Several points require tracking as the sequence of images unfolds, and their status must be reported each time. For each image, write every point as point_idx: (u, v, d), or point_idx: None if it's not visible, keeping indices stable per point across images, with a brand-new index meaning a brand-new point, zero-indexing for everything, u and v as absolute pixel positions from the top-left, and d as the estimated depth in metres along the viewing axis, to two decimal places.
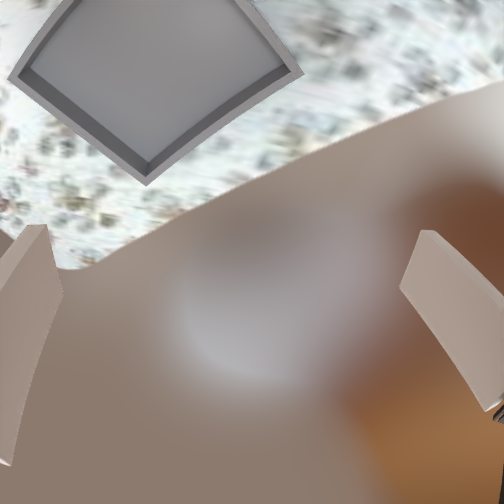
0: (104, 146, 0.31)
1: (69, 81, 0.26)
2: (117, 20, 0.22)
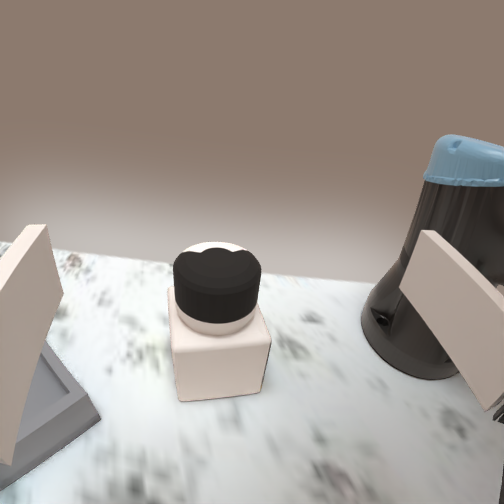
0: None
1: None
2: None
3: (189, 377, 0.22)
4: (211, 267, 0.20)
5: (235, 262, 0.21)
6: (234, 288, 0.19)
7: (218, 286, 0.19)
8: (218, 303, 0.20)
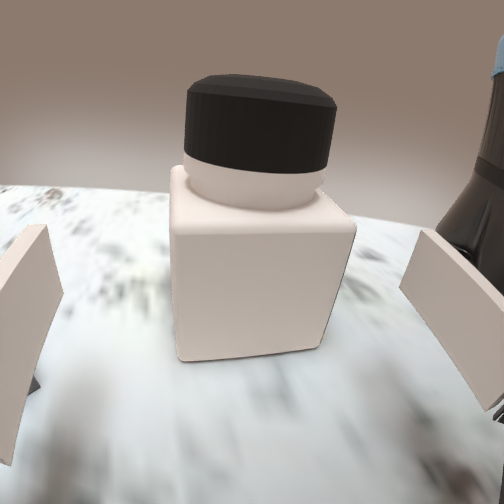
0: None
1: None
2: None
3: (201, 304, 0.12)
4: (257, 76, 0.10)
5: (295, 81, 0.11)
6: (302, 96, 0.09)
7: (275, 89, 0.09)
8: (273, 121, 0.10)
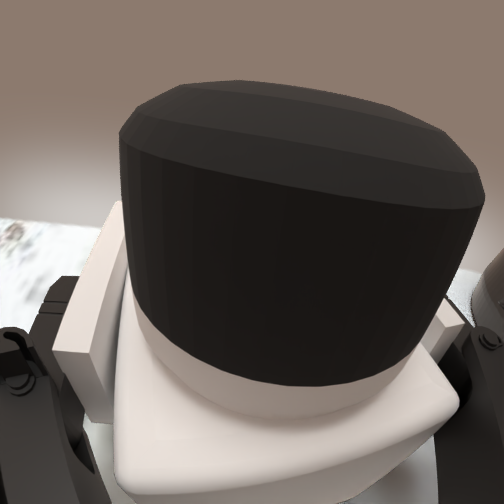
0: None
1: None
2: None
3: None
4: (311, 89, 0.04)
5: None
6: (460, 181, 0.03)
7: (394, 153, 0.03)
8: (380, 273, 0.03)
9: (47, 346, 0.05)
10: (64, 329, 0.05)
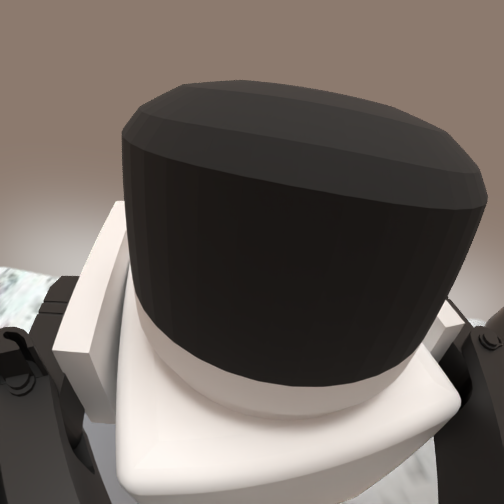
0: None
1: None
2: None
3: None
4: (314, 89, 0.04)
5: None
6: (463, 182, 0.03)
7: (398, 154, 0.03)
8: (385, 273, 0.03)
9: (47, 346, 0.05)
10: (64, 329, 0.05)
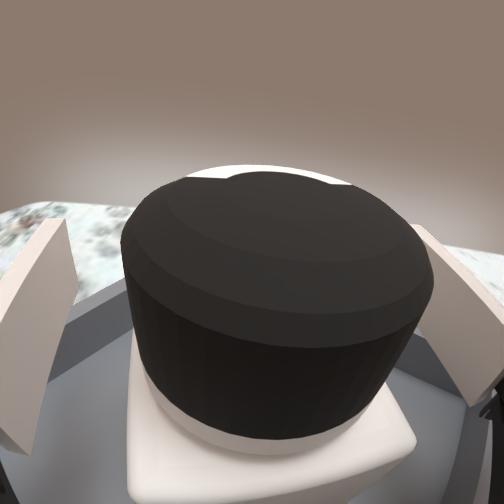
0: None
1: None
2: None
3: None
4: (276, 217, 0.05)
5: (358, 209, 0.05)
6: (389, 311, 0.04)
7: (325, 305, 0.04)
8: (311, 382, 0.04)
9: None
10: None
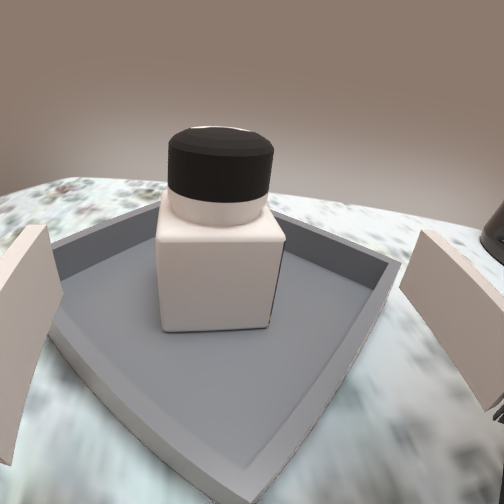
0: (92, 231, 0.23)
1: None
2: None
3: (177, 289, 0.18)
4: (214, 133, 0.16)
5: (243, 133, 0.17)
6: (240, 151, 0.15)
7: (221, 147, 0.15)
8: (220, 169, 0.15)
9: None
10: None
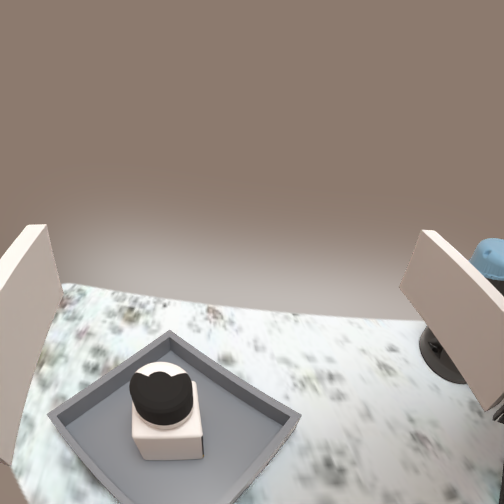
0: (93, 389, 0.33)
1: None
2: (202, 411, 0.36)
3: (147, 449, 0.27)
4: (153, 391, 0.25)
5: (171, 388, 0.26)
6: (167, 409, 0.24)
7: (157, 408, 0.24)
8: (158, 416, 0.25)
9: None
10: None
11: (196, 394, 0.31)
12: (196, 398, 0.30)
